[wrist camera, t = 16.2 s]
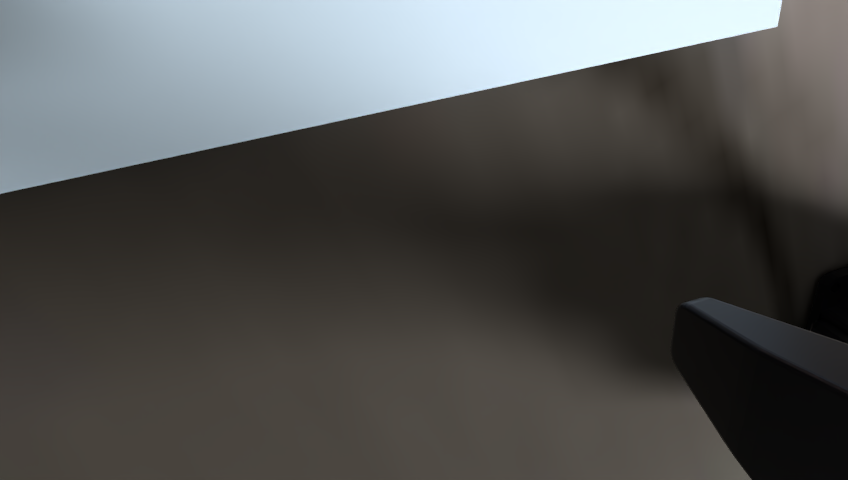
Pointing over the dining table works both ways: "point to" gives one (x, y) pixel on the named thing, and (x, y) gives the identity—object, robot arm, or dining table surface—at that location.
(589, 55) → the blueprint board
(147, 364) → the dining table surface
